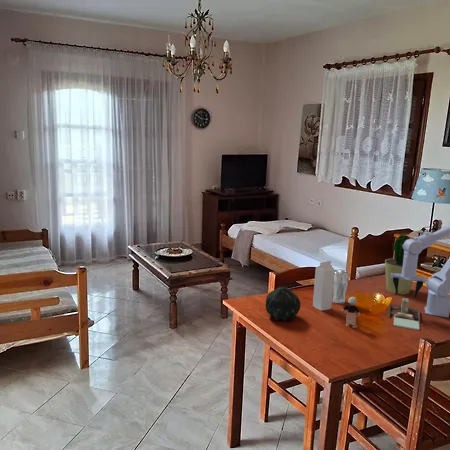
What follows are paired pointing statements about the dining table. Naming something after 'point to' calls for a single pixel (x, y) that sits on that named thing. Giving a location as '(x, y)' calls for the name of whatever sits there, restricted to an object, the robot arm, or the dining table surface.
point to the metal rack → (408, 312)
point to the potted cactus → (397, 268)
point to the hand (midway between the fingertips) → (405, 295)
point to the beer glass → (340, 286)
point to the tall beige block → (404, 305)
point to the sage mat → (406, 323)
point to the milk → (323, 286)
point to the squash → (282, 304)
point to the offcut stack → (404, 316)
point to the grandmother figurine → (351, 312)
